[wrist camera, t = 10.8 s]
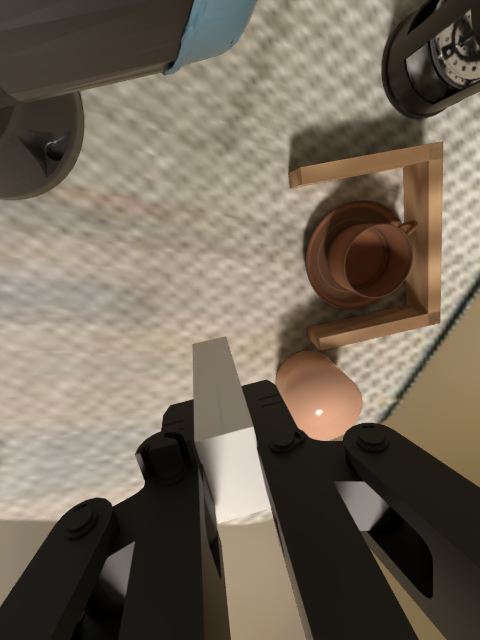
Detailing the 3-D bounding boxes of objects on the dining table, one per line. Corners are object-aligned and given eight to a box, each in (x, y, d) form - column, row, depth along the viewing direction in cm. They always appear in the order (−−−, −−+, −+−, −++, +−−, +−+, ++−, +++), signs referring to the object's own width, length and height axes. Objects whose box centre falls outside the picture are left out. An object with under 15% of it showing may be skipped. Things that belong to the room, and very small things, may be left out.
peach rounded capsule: (271, 358, 40) (287, 385, 33) (332, 343, 40) (359, 367, 34) (280, 412, 42) (297, 448, 36) (337, 398, 43) (364, 430, 36)
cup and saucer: (340, 179, 35) (370, 170, 29) (416, 238, 38) (457, 241, 32) (280, 274, 37) (297, 283, 31) (357, 322, 40) (386, 339, 34)
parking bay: (288, 173, 34) (300, 167, 30) (415, 150, 35) (443, 141, 31) (308, 338, 40) (320, 350, 36) (417, 313, 41) (440, 323, 37)
